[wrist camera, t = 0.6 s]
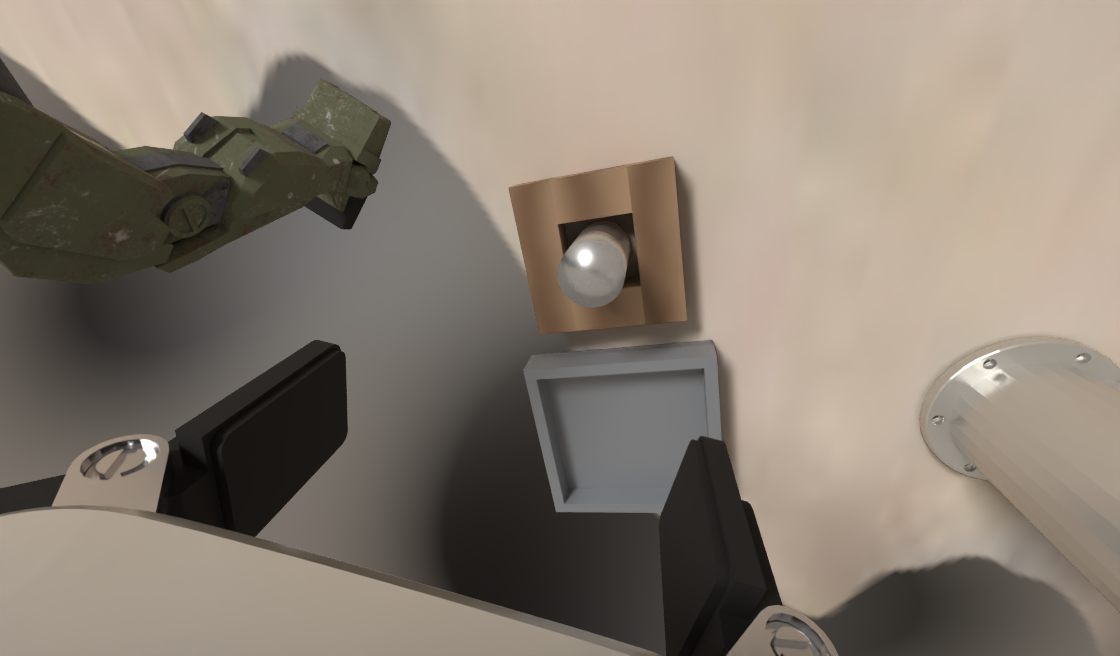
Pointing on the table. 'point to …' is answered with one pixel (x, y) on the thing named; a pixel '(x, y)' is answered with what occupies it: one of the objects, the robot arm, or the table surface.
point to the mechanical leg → (173, 185)
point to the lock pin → (595, 265)
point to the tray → (621, 421)
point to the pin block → (598, 196)
